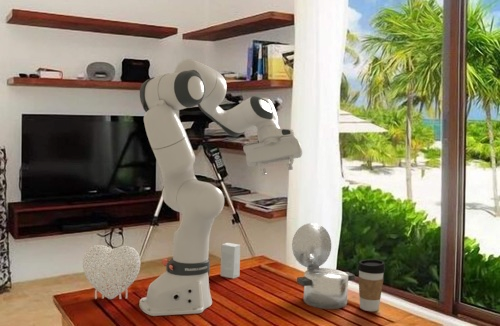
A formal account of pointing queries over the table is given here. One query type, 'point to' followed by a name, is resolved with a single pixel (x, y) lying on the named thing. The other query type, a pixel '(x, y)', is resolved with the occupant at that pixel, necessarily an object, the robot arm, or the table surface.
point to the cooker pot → (325, 287)
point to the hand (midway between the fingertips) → (277, 171)
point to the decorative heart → (111, 269)
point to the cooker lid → (311, 245)
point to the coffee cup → (370, 283)
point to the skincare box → (230, 260)
